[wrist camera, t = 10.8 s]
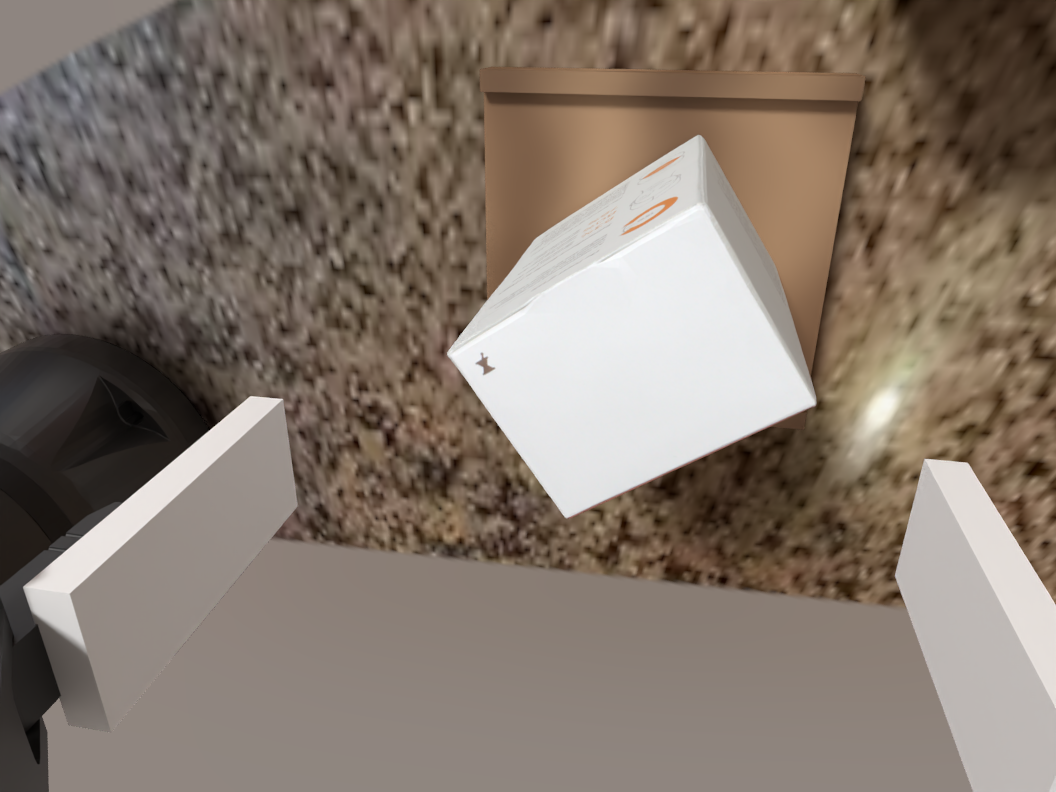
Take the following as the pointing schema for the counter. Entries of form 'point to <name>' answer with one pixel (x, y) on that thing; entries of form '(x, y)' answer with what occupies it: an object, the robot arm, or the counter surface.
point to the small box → (637, 336)
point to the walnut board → (655, 130)
